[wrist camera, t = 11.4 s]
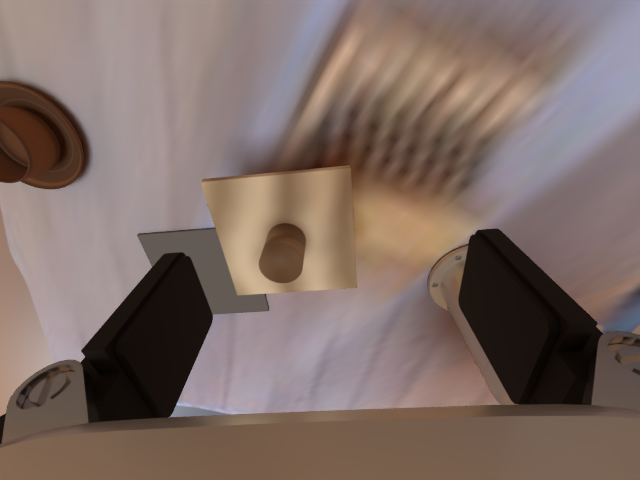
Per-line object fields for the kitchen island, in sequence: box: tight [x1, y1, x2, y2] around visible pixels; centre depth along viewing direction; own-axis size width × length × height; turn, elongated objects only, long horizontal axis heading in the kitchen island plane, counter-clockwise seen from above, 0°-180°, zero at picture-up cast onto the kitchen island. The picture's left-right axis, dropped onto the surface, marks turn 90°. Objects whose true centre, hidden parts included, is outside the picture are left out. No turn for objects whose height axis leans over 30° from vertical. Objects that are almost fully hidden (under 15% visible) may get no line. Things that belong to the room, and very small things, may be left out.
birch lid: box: [201, 165, 357, 295], centre depth 29 cm, size 14×14×5 cm
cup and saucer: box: [0, 81, 84, 189], centre depth 33 cm, size 12×12×6 cm
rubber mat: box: [137, 228, 269, 314], centre depth 46 cm, size 16×16×1 cm
